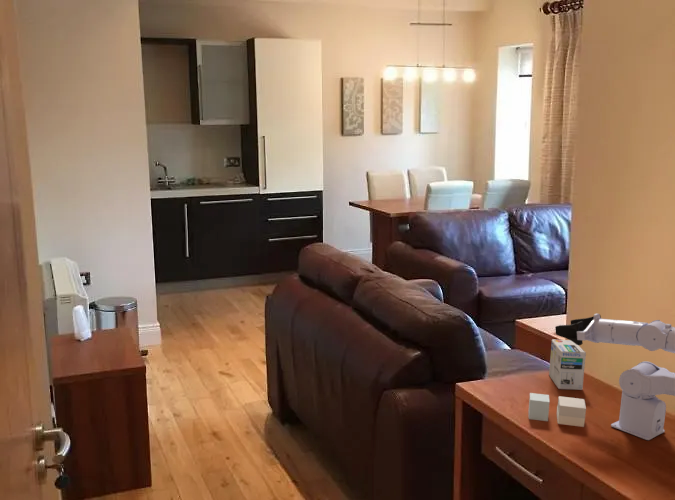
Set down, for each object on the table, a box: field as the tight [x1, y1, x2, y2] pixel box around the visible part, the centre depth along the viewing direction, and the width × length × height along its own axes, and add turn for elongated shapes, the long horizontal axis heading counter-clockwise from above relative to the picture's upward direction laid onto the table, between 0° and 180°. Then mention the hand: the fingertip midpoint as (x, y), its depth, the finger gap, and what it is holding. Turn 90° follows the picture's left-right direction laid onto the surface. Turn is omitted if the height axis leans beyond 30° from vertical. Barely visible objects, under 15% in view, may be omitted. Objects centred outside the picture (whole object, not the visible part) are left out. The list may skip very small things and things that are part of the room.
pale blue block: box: [528, 392, 550, 422], centre depth 181 cm, size 4×4×5 cm
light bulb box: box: [548, 339, 587, 391], centre depth 203 cm, size 11×7×11 cm, turn 179°
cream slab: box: [556, 405, 586, 428], centre depth 179 cm, size 6×6×2 cm
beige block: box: [557, 395, 587, 420], centre depth 179 cm, size 6×6×2 cm
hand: (563, 327), depth 186 cm, fingers open, 7 cm apart
